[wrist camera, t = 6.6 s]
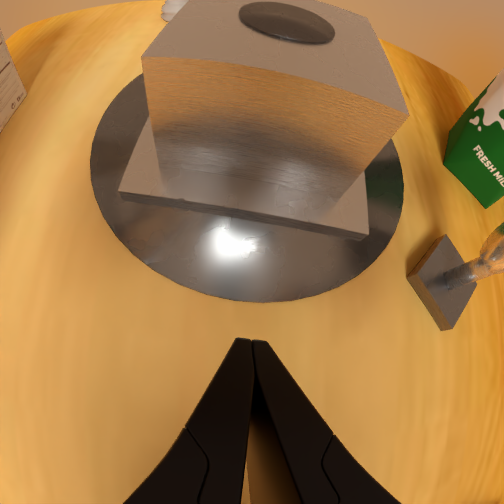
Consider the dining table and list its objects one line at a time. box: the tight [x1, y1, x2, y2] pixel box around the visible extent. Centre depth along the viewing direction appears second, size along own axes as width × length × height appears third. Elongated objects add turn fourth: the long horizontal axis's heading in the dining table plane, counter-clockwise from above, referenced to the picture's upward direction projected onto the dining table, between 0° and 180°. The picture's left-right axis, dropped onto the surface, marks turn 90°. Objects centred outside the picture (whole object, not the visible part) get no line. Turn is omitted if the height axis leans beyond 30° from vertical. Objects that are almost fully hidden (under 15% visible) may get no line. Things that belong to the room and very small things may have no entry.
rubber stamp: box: [407, 222, 504, 331], centre depth 13 cm, size 5×5×10 cm
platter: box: [90, 73, 404, 303], centre depth 19 cm, size 24×24×1 cm
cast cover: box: [118, 0, 409, 241], centre depth 15 cm, size 15×15×9 cm
